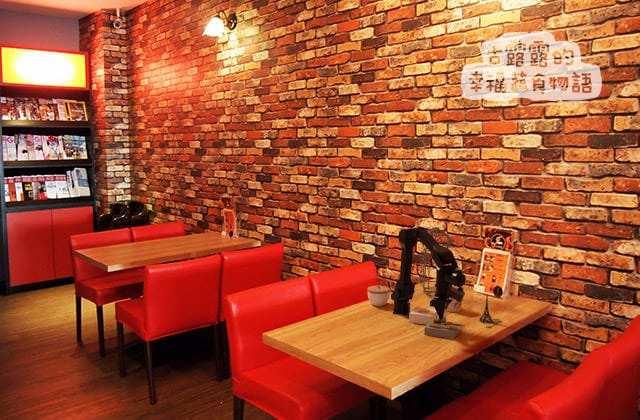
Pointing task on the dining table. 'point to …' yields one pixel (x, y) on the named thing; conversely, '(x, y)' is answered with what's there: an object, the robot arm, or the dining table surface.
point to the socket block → (441, 331)
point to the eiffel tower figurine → (488, 316)
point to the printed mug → (454, 305)
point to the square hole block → (421, 315)
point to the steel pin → (443, 318)
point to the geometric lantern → (430, 255)
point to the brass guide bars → (434, 320)
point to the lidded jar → (378, 295)
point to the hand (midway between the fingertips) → (442, 318)
